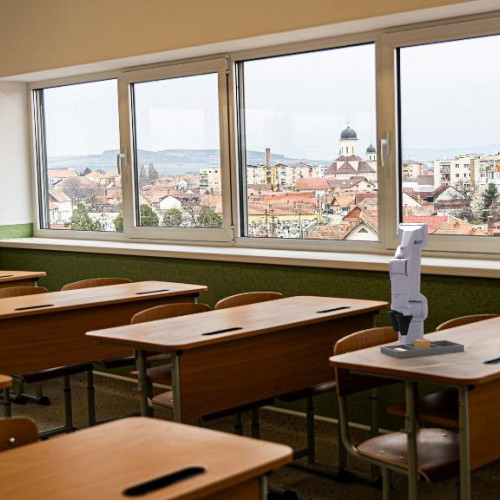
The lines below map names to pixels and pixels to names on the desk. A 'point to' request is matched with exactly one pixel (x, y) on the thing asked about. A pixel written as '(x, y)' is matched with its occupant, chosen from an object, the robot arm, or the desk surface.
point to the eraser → (400, 349)
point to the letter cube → (421, 343)
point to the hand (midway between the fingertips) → (400, 333)
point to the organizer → (435, 348)
